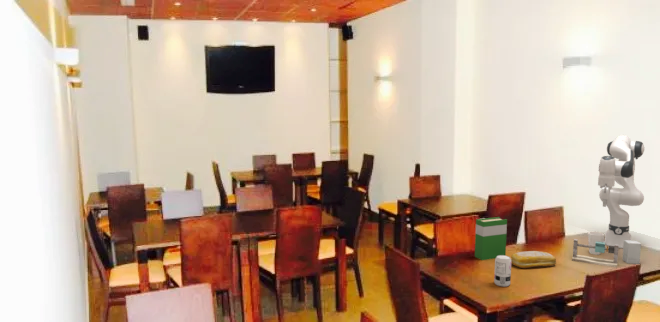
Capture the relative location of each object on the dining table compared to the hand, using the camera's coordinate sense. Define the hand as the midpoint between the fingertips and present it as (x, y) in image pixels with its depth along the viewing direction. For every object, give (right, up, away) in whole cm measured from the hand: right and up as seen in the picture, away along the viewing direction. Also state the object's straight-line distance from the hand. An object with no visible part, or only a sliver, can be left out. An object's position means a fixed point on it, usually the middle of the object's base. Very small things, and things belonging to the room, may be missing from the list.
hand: (604, 204), depth 310 cm
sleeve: (-6, -28, -5) cm, 29 cm away
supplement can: (-76, -39, -39) cm, 94 cm away
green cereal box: (-68, -33, +7) cm, 76 cm away
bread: (-48, -36, -8) cm, 60 cm away
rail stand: (-8, -34, -3) cm, 35 cm away
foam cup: (+1, -32, +14) cm, 35 cm away
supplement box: (+14, -35, -3) cm, 38 cm away
